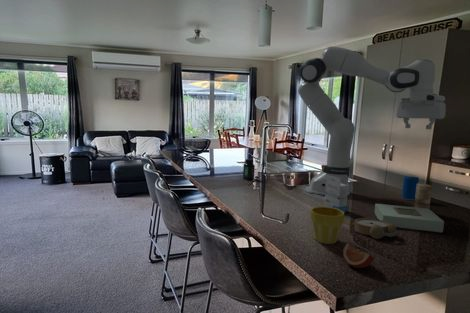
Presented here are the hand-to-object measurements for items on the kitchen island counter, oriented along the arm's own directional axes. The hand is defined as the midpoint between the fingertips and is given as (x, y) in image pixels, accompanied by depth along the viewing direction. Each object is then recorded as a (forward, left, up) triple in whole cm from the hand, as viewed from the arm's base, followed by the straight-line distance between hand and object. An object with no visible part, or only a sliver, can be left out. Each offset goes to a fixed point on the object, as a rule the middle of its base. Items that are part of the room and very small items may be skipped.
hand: (417, 128), depth 140 cm
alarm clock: (-22, -44, -36) cm, 61 cm away
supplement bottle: (-82, +26, -36) cm, 93 cm away
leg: (+2, -11, -36) cm, 37 cm away
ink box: (-34, -21, -36) cm, 54 cm away
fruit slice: (-31, -71, -36) cm, 86 cm away
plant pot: (-39, -56, -36) cm, 77 cm away
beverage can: (+3, +11, -36) cm, 37 cm away
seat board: (-8, -27, -36) cm, 45 cm away
